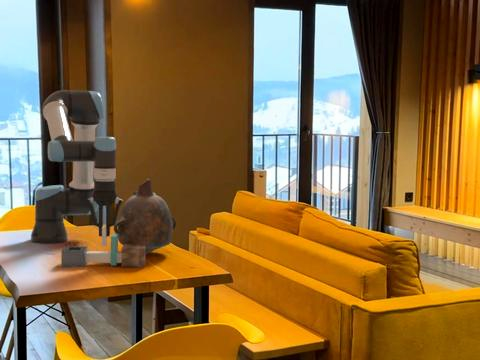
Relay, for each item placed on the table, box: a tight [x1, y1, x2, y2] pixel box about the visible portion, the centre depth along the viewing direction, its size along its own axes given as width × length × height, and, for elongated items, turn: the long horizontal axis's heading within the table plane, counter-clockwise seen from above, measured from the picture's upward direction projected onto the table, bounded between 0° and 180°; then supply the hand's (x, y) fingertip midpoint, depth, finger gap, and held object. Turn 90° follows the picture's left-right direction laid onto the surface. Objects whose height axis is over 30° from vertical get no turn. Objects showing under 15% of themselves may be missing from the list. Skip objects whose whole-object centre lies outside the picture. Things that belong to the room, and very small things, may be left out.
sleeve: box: [60, 246, 88, 268], centre depth 229 cm, size 8×7×6 cm
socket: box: [121, 244, 146, 269], centre depth 231 cm, size 8×8×7 cm
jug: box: [113, 178, 176, 255], centre depth 249 cm, size 24×21×30 cm
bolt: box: [85, 233, 122, 266], centre depth 230 cm, size 16×5×10 cm, turn 96°
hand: (104, 245), depth 230 cm, fingers closed
